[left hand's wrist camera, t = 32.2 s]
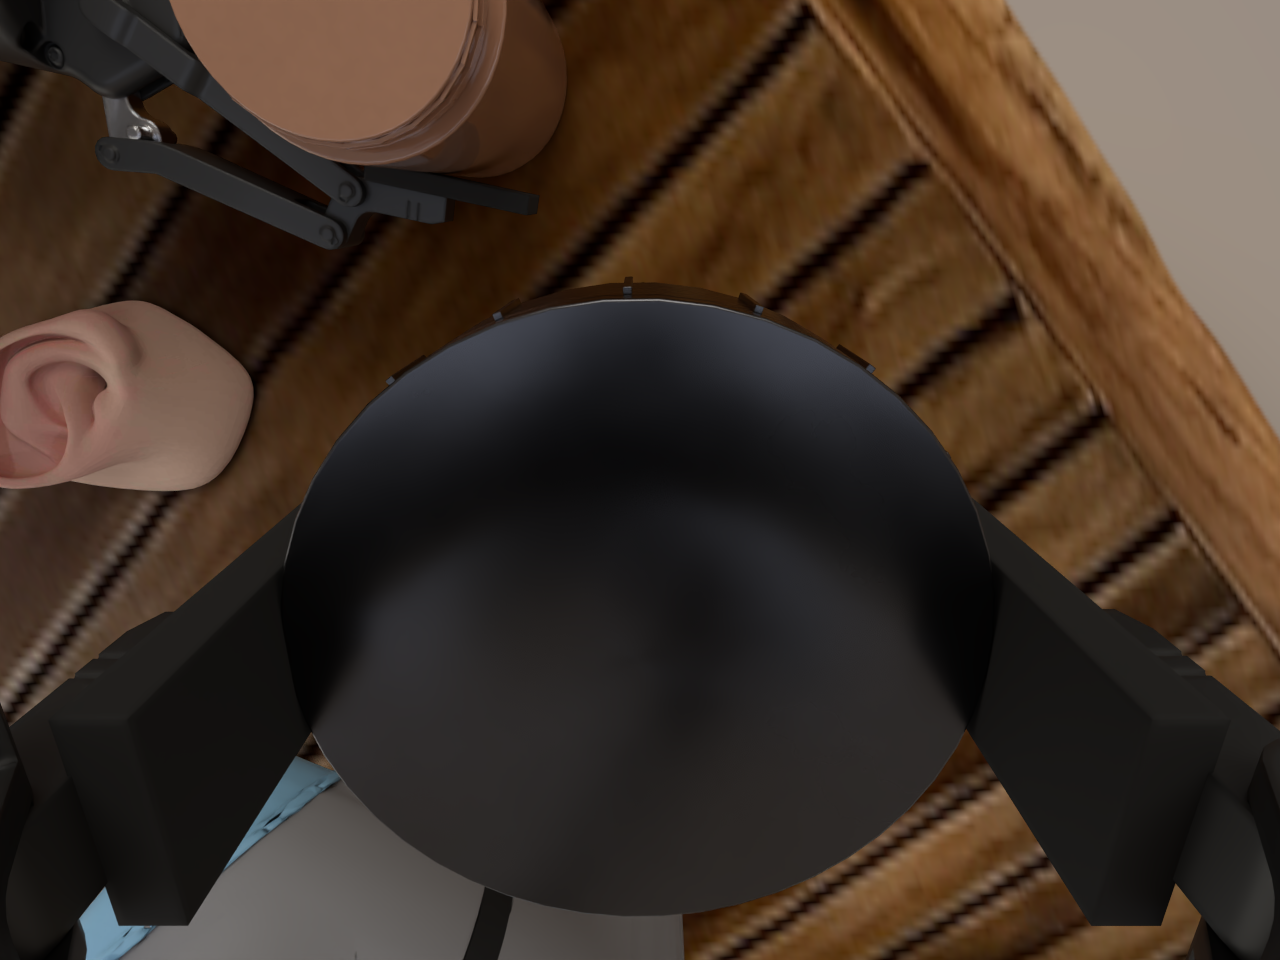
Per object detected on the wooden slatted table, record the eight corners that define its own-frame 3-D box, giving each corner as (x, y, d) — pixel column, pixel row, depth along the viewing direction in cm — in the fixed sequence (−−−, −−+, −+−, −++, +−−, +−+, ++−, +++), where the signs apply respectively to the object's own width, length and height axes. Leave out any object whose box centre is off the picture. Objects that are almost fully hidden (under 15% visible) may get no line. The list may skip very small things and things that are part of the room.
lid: (733, 124, 10) (758, 101, 8) (1040, 651, 12) (1116, 733, 10) (207, 515, 12) (119, 577, 10) (576, 894, 14) (567, 1002, 12)
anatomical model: (217, 344, 35) (207, 551, 39) (259, 330, 38) (246, 520, 43) (-72, 270, 34) (-51, 491, 38) (0, 263, 37) (11, 464, 41)
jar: (434, 206, 36) (263, 215, 20) (344, 16, 33) (58, -151, 17) (596, 132, 35) (551, 78, 19) (517, -73, 32) (382, -344, 16)
